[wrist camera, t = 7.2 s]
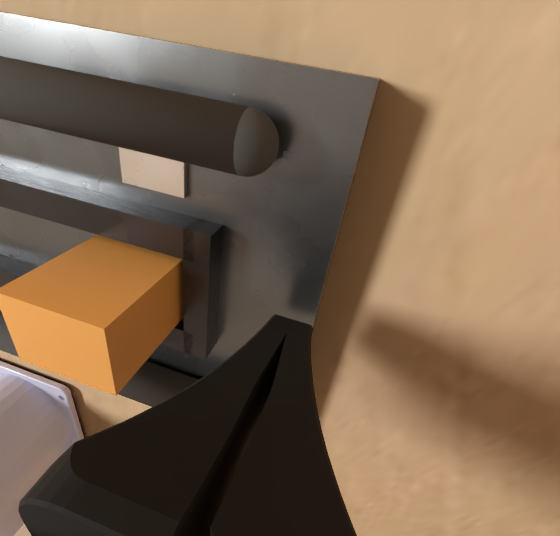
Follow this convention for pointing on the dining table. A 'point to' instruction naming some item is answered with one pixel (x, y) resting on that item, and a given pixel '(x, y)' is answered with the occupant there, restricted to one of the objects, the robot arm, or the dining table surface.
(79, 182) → the plate
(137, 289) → the orange rectangular box
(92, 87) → the grey rails and frame
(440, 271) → the dining table surface
